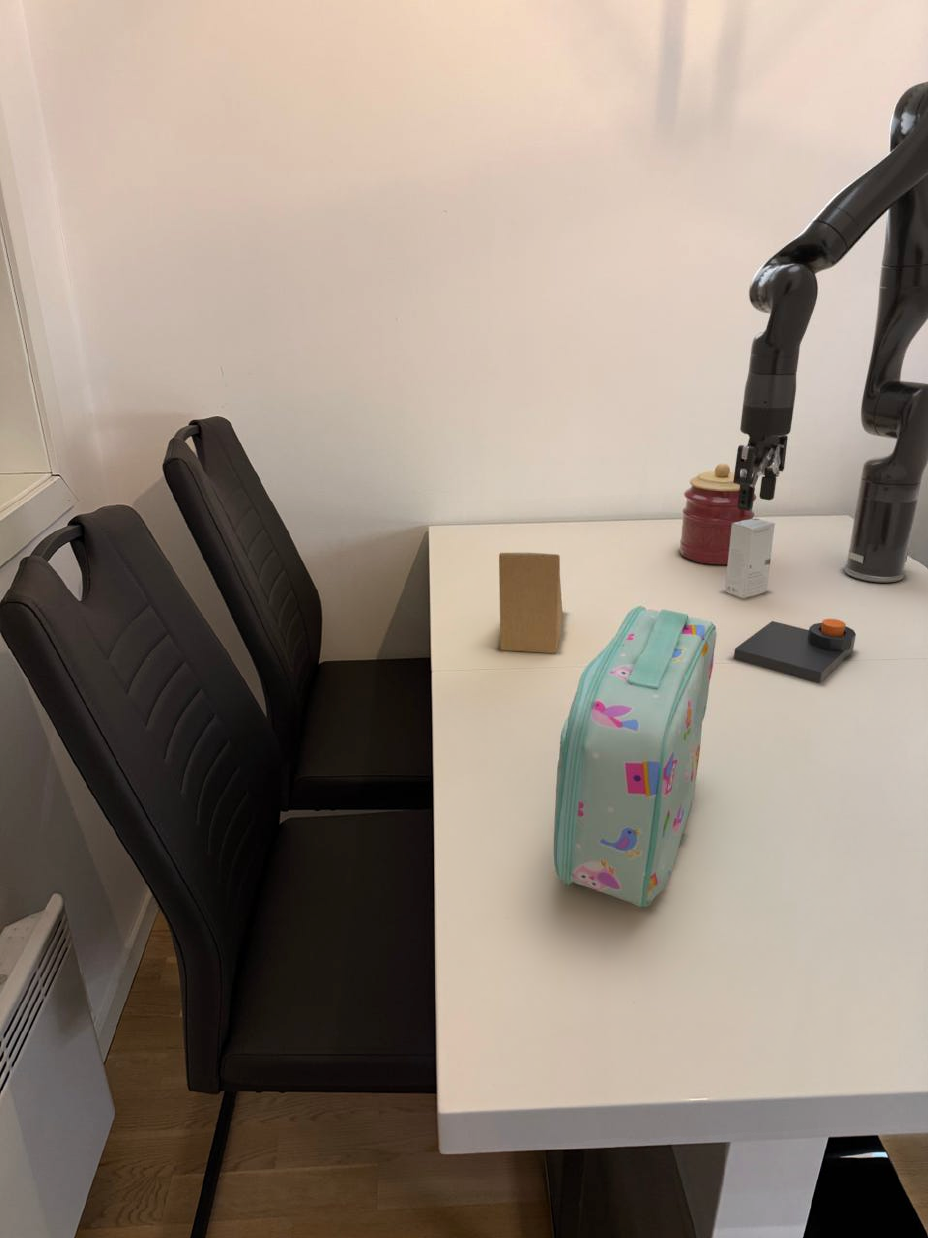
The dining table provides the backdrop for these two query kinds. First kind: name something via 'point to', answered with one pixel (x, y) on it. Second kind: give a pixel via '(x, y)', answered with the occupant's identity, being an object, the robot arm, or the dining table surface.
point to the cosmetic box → (749, 557)
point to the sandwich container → (530, 602)
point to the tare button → (833, 627)
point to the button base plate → (796, 650)
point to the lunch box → (633, 755)
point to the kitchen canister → (711, 516)
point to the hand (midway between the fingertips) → (755, 504)
